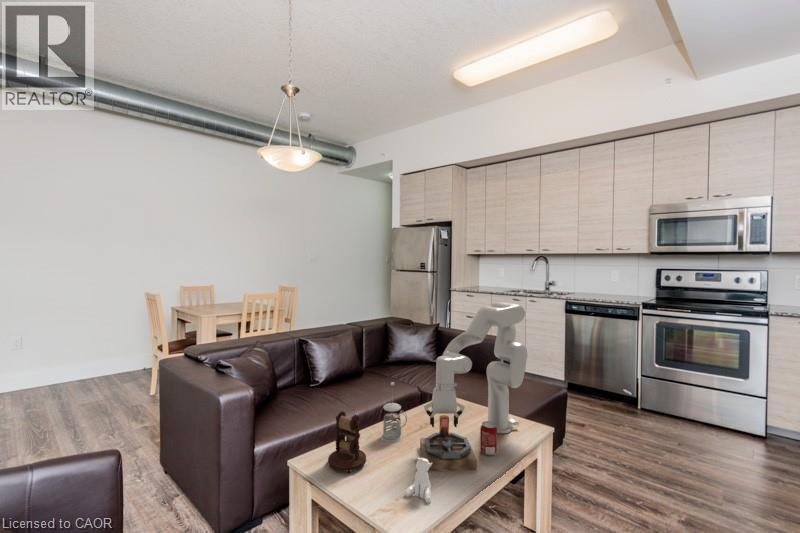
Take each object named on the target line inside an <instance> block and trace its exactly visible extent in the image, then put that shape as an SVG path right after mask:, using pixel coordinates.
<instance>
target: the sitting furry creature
mask: <svg viewBox="0 0 800 533" xmlns="http://www.w3.org/2000/svg"><path fill="white" fill-rule="evenodd" d="M415 465H416V470H417V471H416V472H415V475H414V481H413V482H414V483H413V484H411V485H410V486H407V488H406V489H405V490H404V491H403V493H404V496H405V497H407V498H409V497H411V496H412V497H419V498H421V499H424V501H425V503H426V504H430V502H431V500H432V490H431V489H432V484H431V481H430V477H429V471H428V470H429V467H431V465H432V463H429V461H428V460H427V459H424V458H422V457H417V462H416V464H415Z"/></svg>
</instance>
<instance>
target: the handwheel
mask: <svg viewBox="0 0 800 533" xmlns="http://www.w3.org/2000/svg"><path fill="white" fill-rule="evenodd" d="M438 426H439V428H438V430H439V431H438V432H434V433H432V434H431V435H429V436H427V437H424V438H425V446H426V451H427V452H428V453H431V454H433V455H435V456H437V457H440V458H442V459H445V458H462V457H463V456H465V455H466V454H467V453H469V452H470V451H471V448H472V446H471V444H469V443H470V442H468V441H469V440H467V439H468V437H467V438H465V437H466V436H463V435H460V434H458V433H455V432H451V431H450V417H449V416H448V415H446V414H444V415H442V414H441V415H440V416H439V425H438ZM437 438H443V439H444V440H443V441H442V443H430V442H432V441H433V440H435V439H437ZM447 438H453V439H455V440H458V441H460V442H463V443H452V441H451V440H448V439H447ZM463 446H465V448H463V449H462V450H460V451H459V452H452V451H451V449H452V447H463ZM432 447H442V448H443V449H444V450H447V451H448V452H441V451H439V450H437V449H434V448H432Z"/></svg>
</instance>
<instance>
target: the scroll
mask: <svg viewBox="0 0 800 533" xmlns="http://www.w3.org/2000/svg"><path fill="white" fill-rule="evenodd" d="M335 423H336V424H335V429H334V431H335V434H336V435H335V450H334V451H332V452H331V453H330V454H329V456H328V459H327V464H328V467H330V468H332V469H333V470H334V471H335V470H337V471H341V472H347V473H348V474H351V472H352V471H354V470H355V471H356V470H357V469H360V468H361V467H363V466H364V465H365V464H366V462H367V454H366V452H364V451H363V450H361V449H360V448H361V447H360V445H359V444H360V441H359V440H360V438H361V433H360V429H359V428H360V424H361V422H360V417H359V416H358V415H357V414H354V415H353V416H352V417H349V416H348V417H347V416H346V412H345V411H340V412H339V413H338V414H337V415H336V416H335Z"/></svg>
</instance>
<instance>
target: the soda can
mask: <svg viewBox="0 0 800 533" xmlns="http://www.w3.org/2000/svg"><path fill="white" fill-rule="evenodd" d="M479 430H480V431H479V451H480V452H481V454H483V455H485V456H493V455H495V454H496V453H497V451H498V450H497V449H498V448H497V445H498V444H497V443H498V439H497V438H498V433H497V428H496V426H495V423H493V422H490V421H488V420H486V421H485V420H484V421H482V422H481V425H480V428H479Z"/></svg>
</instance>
